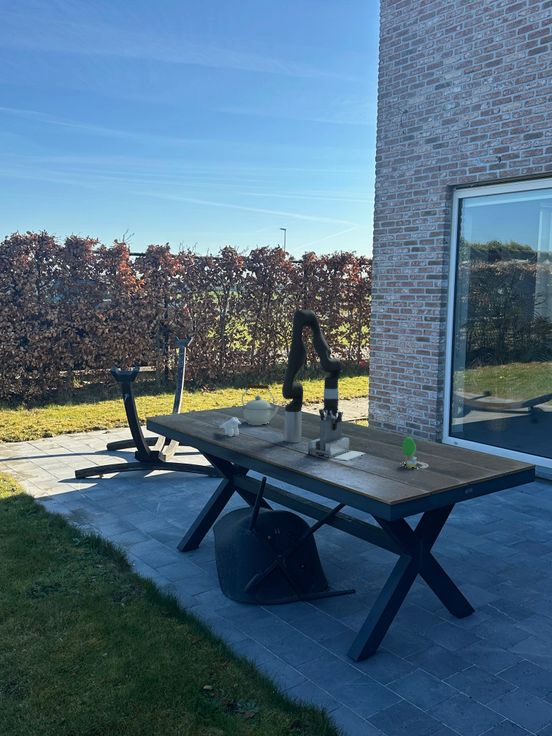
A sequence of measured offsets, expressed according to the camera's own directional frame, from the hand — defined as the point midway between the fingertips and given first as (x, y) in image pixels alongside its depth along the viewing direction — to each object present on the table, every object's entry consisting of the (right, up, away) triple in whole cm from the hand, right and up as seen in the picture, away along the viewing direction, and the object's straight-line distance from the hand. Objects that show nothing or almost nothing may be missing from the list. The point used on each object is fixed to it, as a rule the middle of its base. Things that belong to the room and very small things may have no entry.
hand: (330, 429), depth 325 cm
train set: (+39, -15, -21) cm, 47 cm away
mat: (+9, -13, -6) cm, 17 cm away
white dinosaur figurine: (-55, -8, +42) cm, 70 cm away
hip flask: (0, -12, +1) cm, 12 cm away
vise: (0, -12, +1) cm, 12 cm away
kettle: (-38, -4, +77) cm, 86 cm away
